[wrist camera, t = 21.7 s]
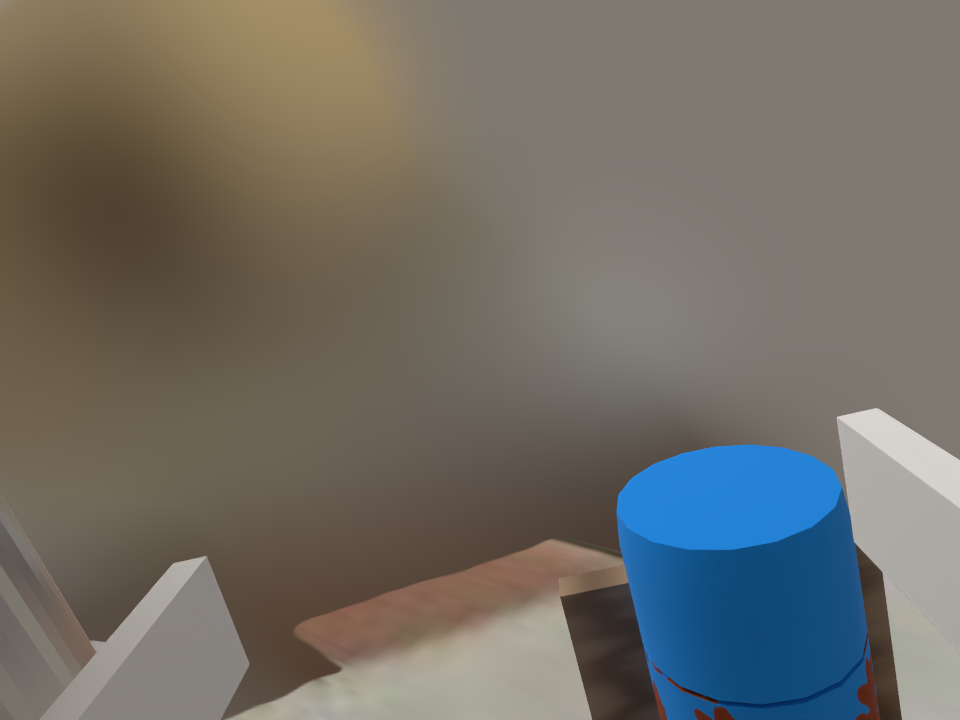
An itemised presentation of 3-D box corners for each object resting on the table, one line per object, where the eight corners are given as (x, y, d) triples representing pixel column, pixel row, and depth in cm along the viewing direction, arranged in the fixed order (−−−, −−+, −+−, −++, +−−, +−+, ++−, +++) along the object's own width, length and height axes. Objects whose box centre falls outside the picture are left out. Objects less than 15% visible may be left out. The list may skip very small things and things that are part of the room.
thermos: (895, 1029, 33) (823, 566, 27) (674, 931, 39) (576, 540, 33) (912, 830, 41) (860, 443, 35) (727, 776, 47) (657, 442, 42)
